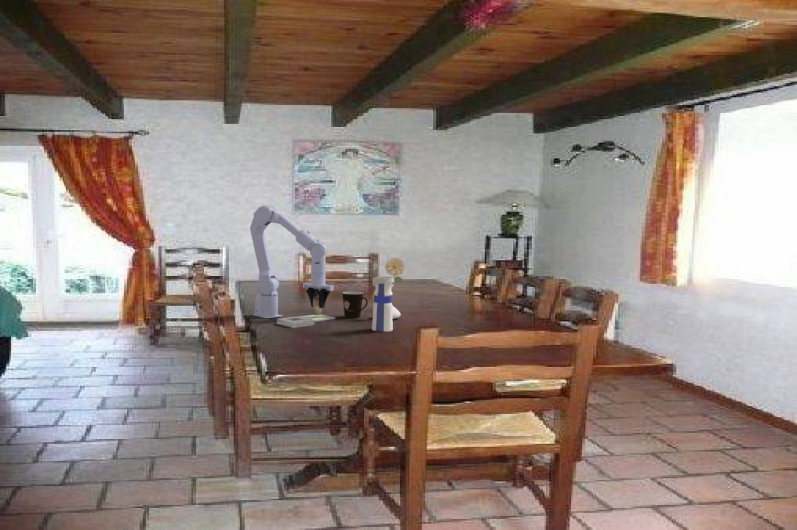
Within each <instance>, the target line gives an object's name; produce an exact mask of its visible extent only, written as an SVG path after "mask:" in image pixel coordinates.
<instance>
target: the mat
mask: <svg viewBox="0 0 797 530" xmlns="http://www.w3.org/2000/svg"><path fill="white" fill-rule="evenodd" d="M299 316H300V315H299ZM300 317H304V318H309V319H313V320H315V322H323V321H330V320H336V317H335V316H331V315H330V316H329V315H326V314H322V315H313V314H310V315H301V316H300Z"/></svg>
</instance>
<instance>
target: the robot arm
mask: <svg viewBox="0 0 797 530" xmlns="http://www.w3.org/2000/svg"><path fill="white" fill-rule="evenodd" d="M271 223H272V224H279V225H280V226H281V227H283V228H284V229H285V230H287V231H288V232H289V233H290V234H292V235H293V236H295V237H294V238H295V242H296V243H298V244H299V245H300V246H301V247H303V248H304V249H305V250H306V251H308V252H309V253H310V255H311V263H310V264H311V267H310V282H303V283H302V288H303V289H305V292H306V294H307V296H308V298H309V302H310V306H311V307H312V308H313V297H319V308H322V309H324V308H325V304H326V301H327V298H328V296H330V293H331V291H332V292H333V291H335V290H334V289H335V288H334V287H335V285H333V284H332V285H331V284H327V283H326V276H327V275H326V270H327V267H326V265H327V263H326V255H327V252H328V248H327V246H326V244H325V243H324V242H320V241H321V240H320V239H317V238H316V237H314V236H313V235H312V234H311V233H312V232H311V231H310V230H306V229H300V228H299V227H298V226H297V225H296V224H295V223H293V222H292V221H291V220H290V219H289V218H288V217H287V216H286V215H285V214H283V213H282V212H281V210H280V211H279V210H278V209H276V208H275V207H274V206H271V205H269V206H268V205H261V206H259V207H258V208H257V209H256V210H255V211H254V212H253V217H252V220H251V224H250V227H249V228H250V229H249V231H250V235H251V240H252V244H253V249H254V254H255V258H256V262H257V267H258V271H259V272H258V285H257V287H258V291H259V294H257V295H256V296H255V300H254V313H253V314H252V316H254V317H257V318H258V317H259V318H261V319H262V318H263V319H271V318H283V314H279V293H278V289H279V288H280V281H279V279H278V278H277V276H276V273H275V272H274V269H273V267H272V263H271V261H272V260H271V258H270V252H269V248H268V244H267V239H266V234H265V230H266V229H267V227H268V226H269V225H271Z"/></svg>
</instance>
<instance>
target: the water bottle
mask: <svg viewBox="0 0 797 530" xmlns="http://www.w3.org/2000/svg"><path fill="white" fill-rule="evenodd" d="M372 265H373V270H378V266H379V263H377V261H375V262H374V263H373V264H372ZM393 277H394V276H383V275H380V276H376V277H372V285H373V287H375V290H374V292H373V294H372V300H371V301H372V303H373V306H372V320H371V321H372V322H371V323H372V325H371V330H372V331H374V332H392V331H393V329H394V327H393V320H394V319H392V314H393V307H392V305H393V303H392V295H394V293H393V292H392V291H393V290H392V289H391V285H393V283H394V282H395V280H394V278H395V277H394V278H393Z"/></svg>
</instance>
